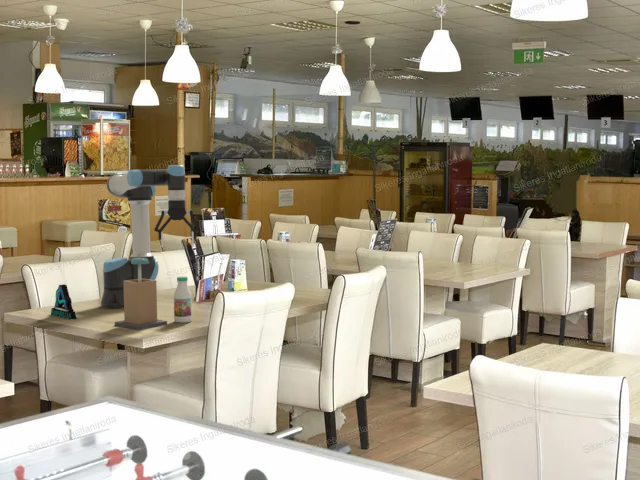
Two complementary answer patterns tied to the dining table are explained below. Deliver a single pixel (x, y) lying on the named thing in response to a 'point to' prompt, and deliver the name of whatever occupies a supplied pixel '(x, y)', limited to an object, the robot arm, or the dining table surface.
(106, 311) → the dining table surface
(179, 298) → the milk bottle
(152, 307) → the brown pedestal box
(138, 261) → the pump plunger
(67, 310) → the decorative sign
